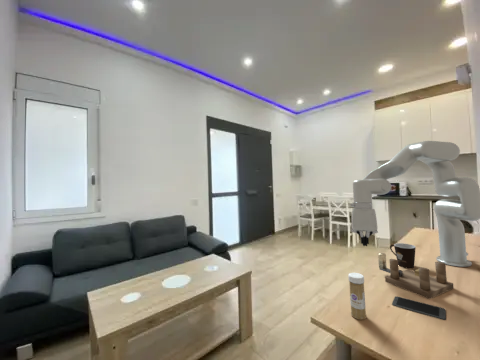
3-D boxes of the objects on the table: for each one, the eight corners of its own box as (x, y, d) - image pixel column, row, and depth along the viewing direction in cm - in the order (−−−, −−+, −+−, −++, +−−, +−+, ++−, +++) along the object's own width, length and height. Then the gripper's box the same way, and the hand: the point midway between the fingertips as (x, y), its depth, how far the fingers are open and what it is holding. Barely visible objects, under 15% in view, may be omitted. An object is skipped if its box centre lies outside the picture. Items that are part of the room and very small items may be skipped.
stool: (408, 273, 100) (407, 252, 100) (453, 288, 85) (451, 263, 85) (385, 281, 94) (383, 259, 94) (429, 299, 79) (427, 272, 79)
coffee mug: (421, 269, 103) (419, 248, 103) (400, 269, 105) (399, 248, 105) (407, 260, 115) (406, 241, 115) (389, 260, 116) (388, 241, 116)
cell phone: (446, 321, 67) (445, 319, 67) (391, 306, 76) (391, 304, 76) (445, 310, 72) (445, 308, 72) (395, 297, 82) (394, 295, 82)
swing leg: (377, 269, 101) (376, 253, 101) (381, 267, 102) (380, 252, 103) (400, 276, 92) (398, 259, 92) (404, 275, 93) (403, 258, 93)
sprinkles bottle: (349, 317, 71) (346, 275, 72) (352, 310, 75) (350, 271, 75) (365, 322, 69) (362, 279, 69) (368, 314, 72) (365, 274, 72)
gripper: (345, 206, 101) (347, 246, 101) (383, 206, 96) (385, 248, 95) (344, 205, 108) (346, 242, 108) (379, 205, 103) (381, 244, 102)
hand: (364, 245), depth 102 cm, fingers closed
